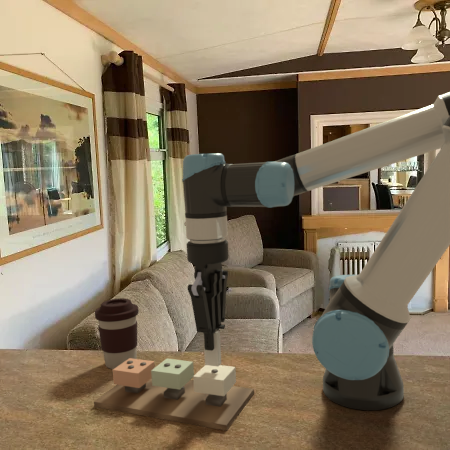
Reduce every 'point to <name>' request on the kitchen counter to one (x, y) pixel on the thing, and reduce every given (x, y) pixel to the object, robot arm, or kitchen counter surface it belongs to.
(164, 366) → the tile two
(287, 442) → the kitchen counter surface
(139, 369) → the tile three
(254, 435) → the kitchen counter surface
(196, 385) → the tile one
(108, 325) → the coffee cup
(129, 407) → the key board
